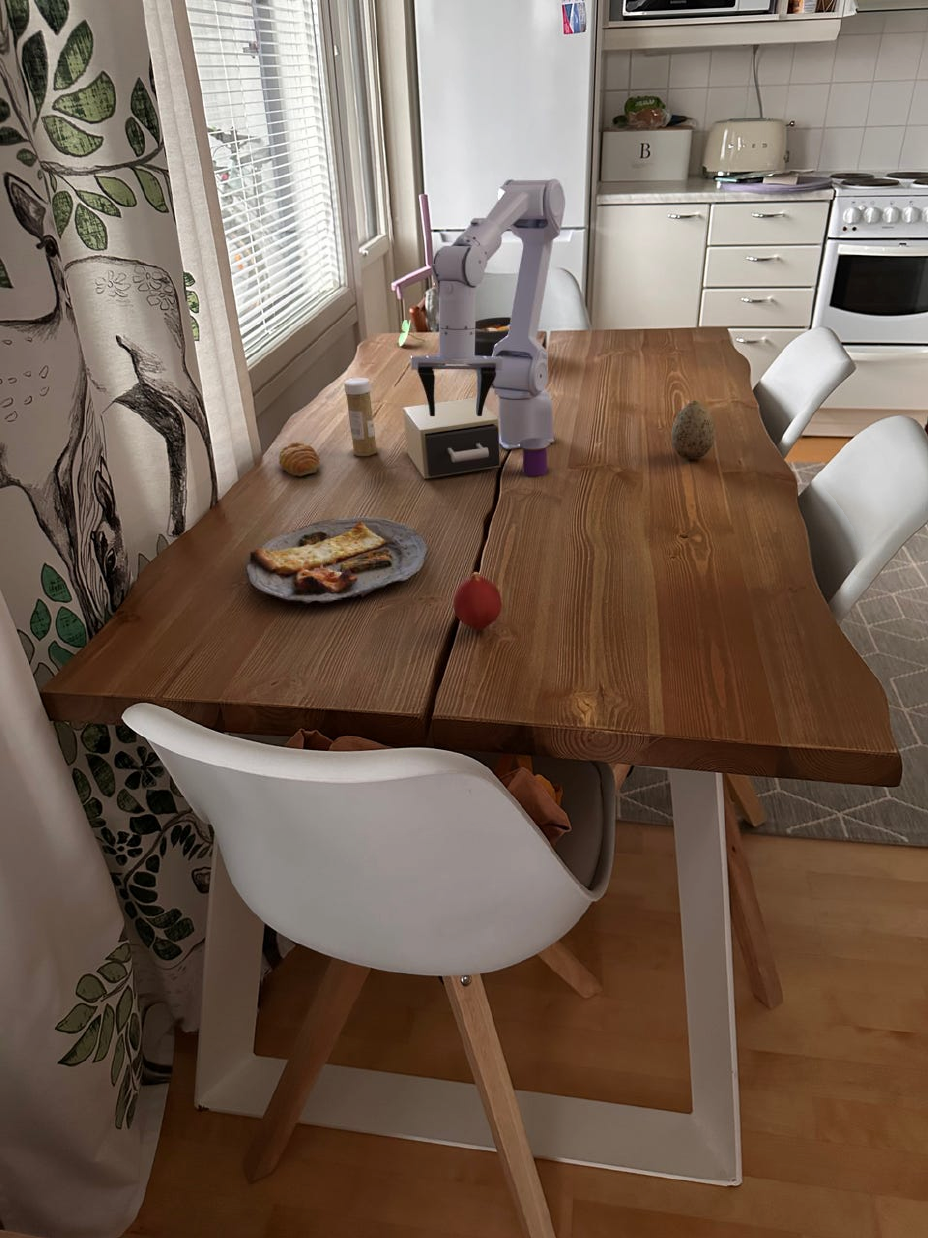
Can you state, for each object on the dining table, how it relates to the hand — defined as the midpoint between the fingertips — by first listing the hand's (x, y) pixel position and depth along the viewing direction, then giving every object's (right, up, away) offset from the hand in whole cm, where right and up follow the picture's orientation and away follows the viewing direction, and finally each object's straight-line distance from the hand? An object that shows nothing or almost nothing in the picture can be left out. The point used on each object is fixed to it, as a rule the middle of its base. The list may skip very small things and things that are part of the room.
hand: (455, 415), depth 151 cm
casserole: (+10, +29, +72) cm, 78 cm away
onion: (+3, -35, -37) cm, 51 cm away
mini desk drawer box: (-1, -5, +14) cm, 15 cm away
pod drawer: (+1, -6, +10) cm, 12 cm away
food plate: (-16, -26, -21) cm, 37 cm away
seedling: (-9, +39, +92) cm, 100 cm away
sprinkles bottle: (-17, -3, +20) cm, 27 cm away
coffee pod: (+13, -8, +7) cm, 17 cm away
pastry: (-28, -6, +15) cm, 32 cm away
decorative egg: (+40, -6, +8) cm, 42 cm away
